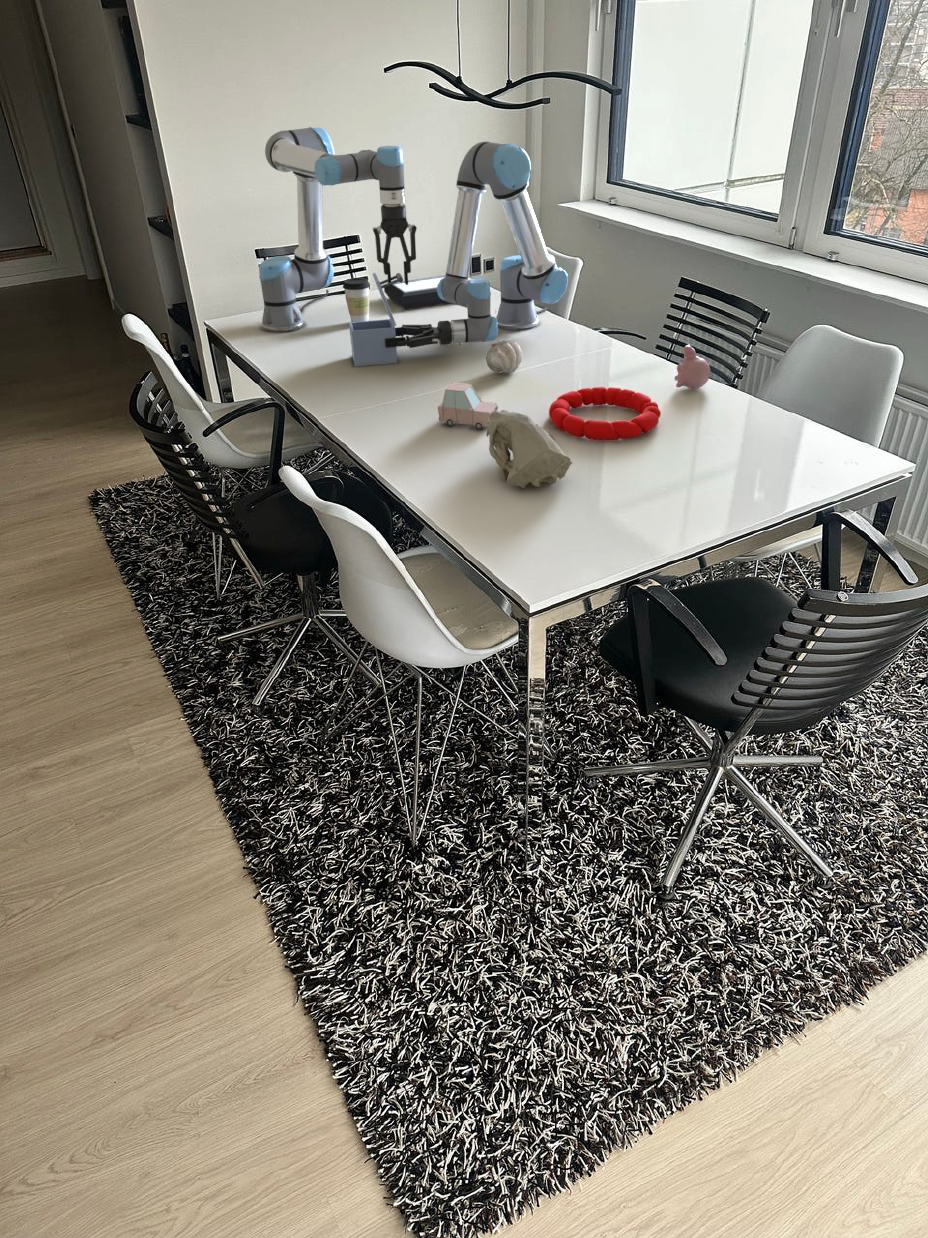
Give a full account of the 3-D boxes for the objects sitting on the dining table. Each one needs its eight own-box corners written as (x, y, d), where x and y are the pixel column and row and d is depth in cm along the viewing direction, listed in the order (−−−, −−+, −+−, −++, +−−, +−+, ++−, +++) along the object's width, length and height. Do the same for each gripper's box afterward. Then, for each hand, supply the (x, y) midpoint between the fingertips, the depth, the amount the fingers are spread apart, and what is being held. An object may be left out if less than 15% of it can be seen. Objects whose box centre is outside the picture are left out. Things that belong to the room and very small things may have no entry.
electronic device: (401, 294, 334) (383, 282, 349) (402, 311, 338) (384, 299, 353) (478, 283, 345) (457, 272, 360) (478, 299, 348) (458, 288, 363)
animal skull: (496, 517, 219) (521, 479, 201) (463, 429, 225) (484, 384, 207) (557, 503, 225) (586, 465, 206) (523, 417, 231) (549, 373, 212)
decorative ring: (589, 435, 224) (684, 402, 234) (527, 398, 247) (617, 369, 256) (589, 461, 229) (683, 427, 238) (529, 422, 251) (617, 393, 260)
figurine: (665, 387, 264) (669, 347, 257) (693, 380, 268) (698, 340, 261) (686, 396, 257) (690, 355, 250) (714, 388, 262) (720, 348, 255)
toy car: (488, 432, 240) (488, 396, 234) (436, 426, 244) (434, 390, 239) (499, 419, 247) (499, 384, 241) (448, 413, 252) (447, 379, 246)
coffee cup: (372, 326, 323) (368, 283, 314) (345, 327, 323) (340, 284, 315) (374, 318, 331) (371, 276, 322) (348, 319, 331) (344, 277, 323)
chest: (355, 366, 288) (351, 331, 281) (352, 356, 296) (348, 322, 290) (397, 362, 290) (395, 327, 283) (393, 352, 298) (391, 318, 292)
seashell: (476, 372, 280) (475, 340, 274) (517, 363, 285) (517, 332, 280) (493, 381, 272) (492, 349, 266) (534, 372, 278) (534, 340, 272)
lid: (375, 281, 274) (400, 271, 274) (372, 273, 283) (396, 263, 282) (393, 326, 283) (417, 316, 283) (389, 317, 291) (413, 307, 291)
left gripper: (365, 208, 264) (371, 289, 277) (424, 204, 266) (427, 285, 280) (362, 203, 270) (369, 283, 283) (420, 200, 272) (423, 279, 286)
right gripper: (457, 354, 286) (388, 360, 283) (445, 333, 304) (380, 339, 301) (456, 330, 281) (386, 336, 278) (444, 311, 300) (378, 316, 297)
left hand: (398, 284), depth 281 cm, fingers open, 5 cm apart
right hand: (383, 338), depth 290 cm, fingers closed on chest, 10 cm apart
